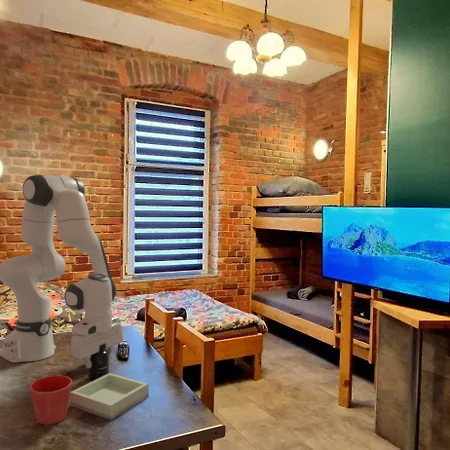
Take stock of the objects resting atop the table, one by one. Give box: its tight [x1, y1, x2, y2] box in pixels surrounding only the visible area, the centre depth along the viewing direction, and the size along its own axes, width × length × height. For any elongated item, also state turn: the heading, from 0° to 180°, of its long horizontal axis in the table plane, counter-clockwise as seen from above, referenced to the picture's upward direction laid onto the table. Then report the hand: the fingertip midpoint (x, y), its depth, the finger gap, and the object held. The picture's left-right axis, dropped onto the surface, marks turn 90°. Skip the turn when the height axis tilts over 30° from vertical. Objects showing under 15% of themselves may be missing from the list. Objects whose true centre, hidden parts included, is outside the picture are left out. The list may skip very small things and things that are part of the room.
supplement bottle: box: [87, 343, 110, 382], centre depth 141 cm, size 7×7×12 cm
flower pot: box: [29, 374, 73, 426], centre depth 115 cm, size 11×11×10 cm
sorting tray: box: [69, 372, 150, 421], centre depth 125 cm, size 16×16×4 cm
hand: (98, 363), depth 141 cm, fingers closed on supplement bottle, 7 cm apart
